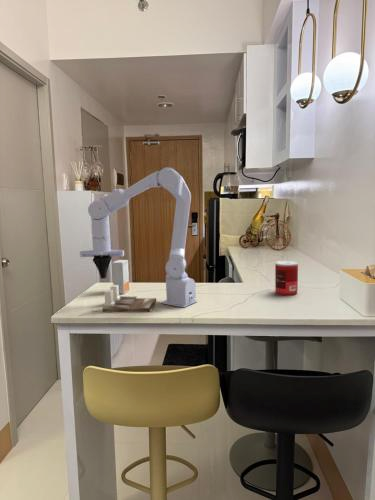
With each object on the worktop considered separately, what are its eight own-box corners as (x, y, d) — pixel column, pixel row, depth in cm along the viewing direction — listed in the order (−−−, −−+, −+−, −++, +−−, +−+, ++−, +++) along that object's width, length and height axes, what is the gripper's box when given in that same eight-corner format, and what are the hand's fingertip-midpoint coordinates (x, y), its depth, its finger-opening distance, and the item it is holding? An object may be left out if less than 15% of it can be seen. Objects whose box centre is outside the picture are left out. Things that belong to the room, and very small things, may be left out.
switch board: (156, 301, 126) (156, 295, 126) (149, 311, 114) (149, 306, 114) (113, 301, 127) (113, 296, 127) (102, 312, 115) (102, 306, 115)
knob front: (115, 303, 119) (114, 289, 118) (112, 306, 116) (111, 291, 116) (106, 303, 119) (105, 289, 119) (103, 306, 117) (103, 291, 116)
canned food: (299, 290, 133) (299, 261, 132) (295, 296, 126) (296, 265, 125) (277, 289, 137) (277, 260, 135) (273, 294, 129) (273, 264, 128)
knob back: (120, 298, 125) (119, 284, 125) (118, 300, 123) (117, 286, 122) (112, 298, 126) (111, 284, 125) (110, 300, 123) (109, 286, 122)
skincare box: (124, 294, 136) (122, 262, 134) (113, 294, 137) (111, 262, 135) (130, 290, 142) (128, 259, 140) (119, 290, 143) (117, 259, 141)
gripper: (75, 239, 118) (78, 280, 120) (119, 238, 117) (121, 280, 119) (83, 237, 125) (85, 276, 127) (124, 236, 124) (127, 275, 126)
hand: (103, 277), depth 123 cm, fingers closed
